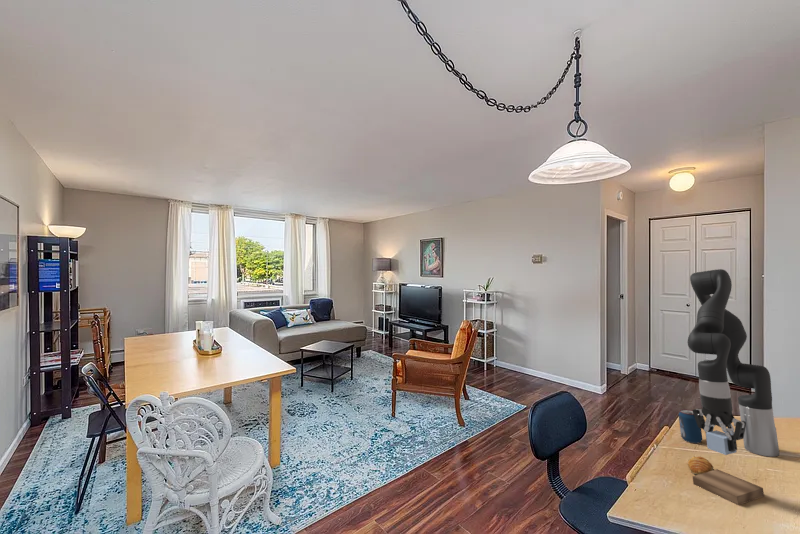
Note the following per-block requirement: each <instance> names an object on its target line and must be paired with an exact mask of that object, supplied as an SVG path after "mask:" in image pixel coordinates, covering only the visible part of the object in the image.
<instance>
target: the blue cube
mask: <svg viewBox="0 0 800 534" xmlns="http://www.w3.org/2000/svg"><path fill="white" fill-rule="evenodd" d="M705 439H707V440H706V446H707V450H708V449H709V450H711V451H714V452H717V453H719V454H722V455H724V456H727V455H731V454H735V453H737V451H738V450H735V451H734V452H730V451H729V450H728V442H727V439H728V438H727V436H726V434H725V432H723V431H719V430H717V429H715V430H713V431H711V432H707V433H705Z"/></svg>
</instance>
